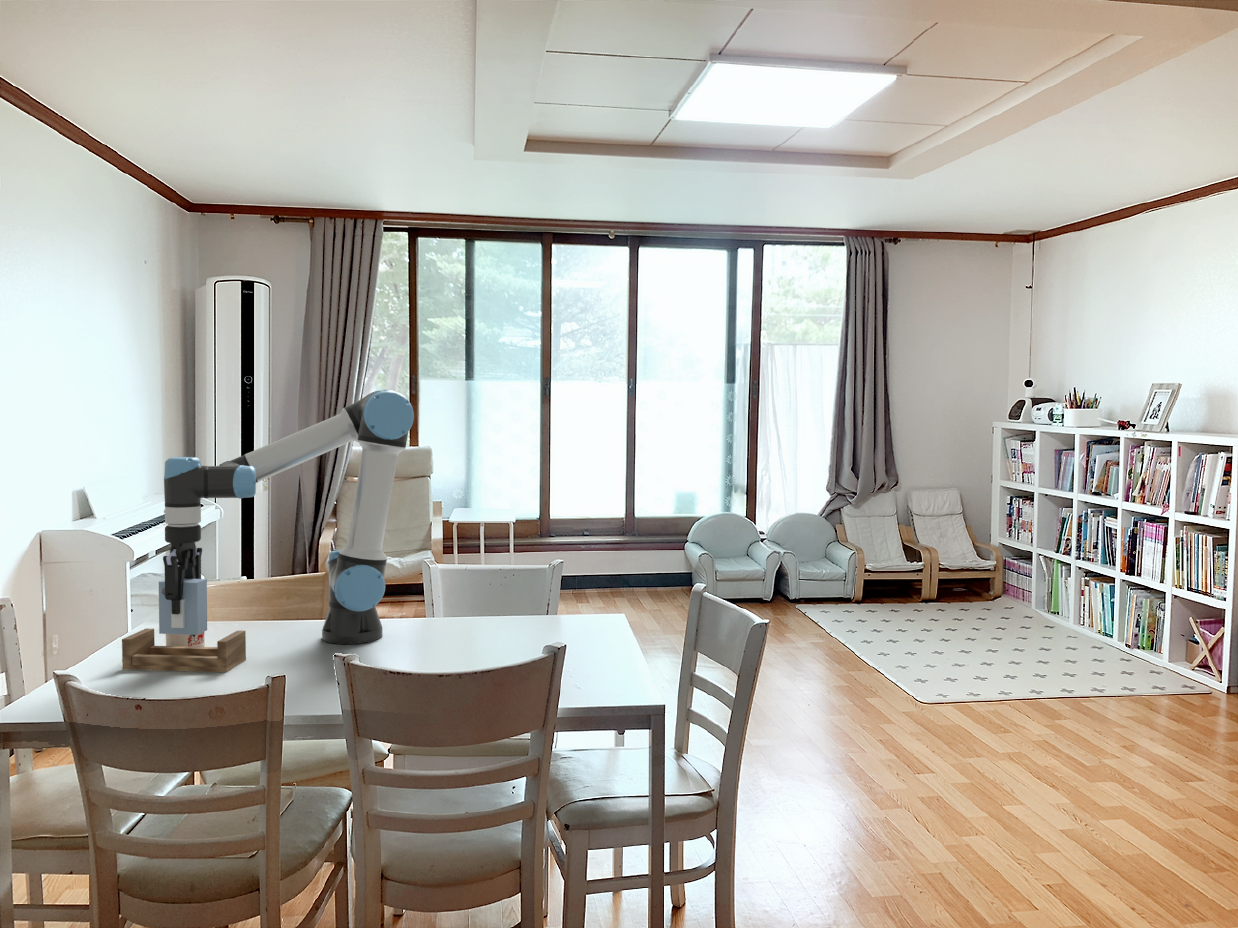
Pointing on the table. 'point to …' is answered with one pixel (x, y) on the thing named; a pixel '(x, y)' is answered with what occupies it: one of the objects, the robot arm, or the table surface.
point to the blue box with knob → (193, 608)
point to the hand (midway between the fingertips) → (183, 624)
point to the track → (182, 654)
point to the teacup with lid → (185, 640)
